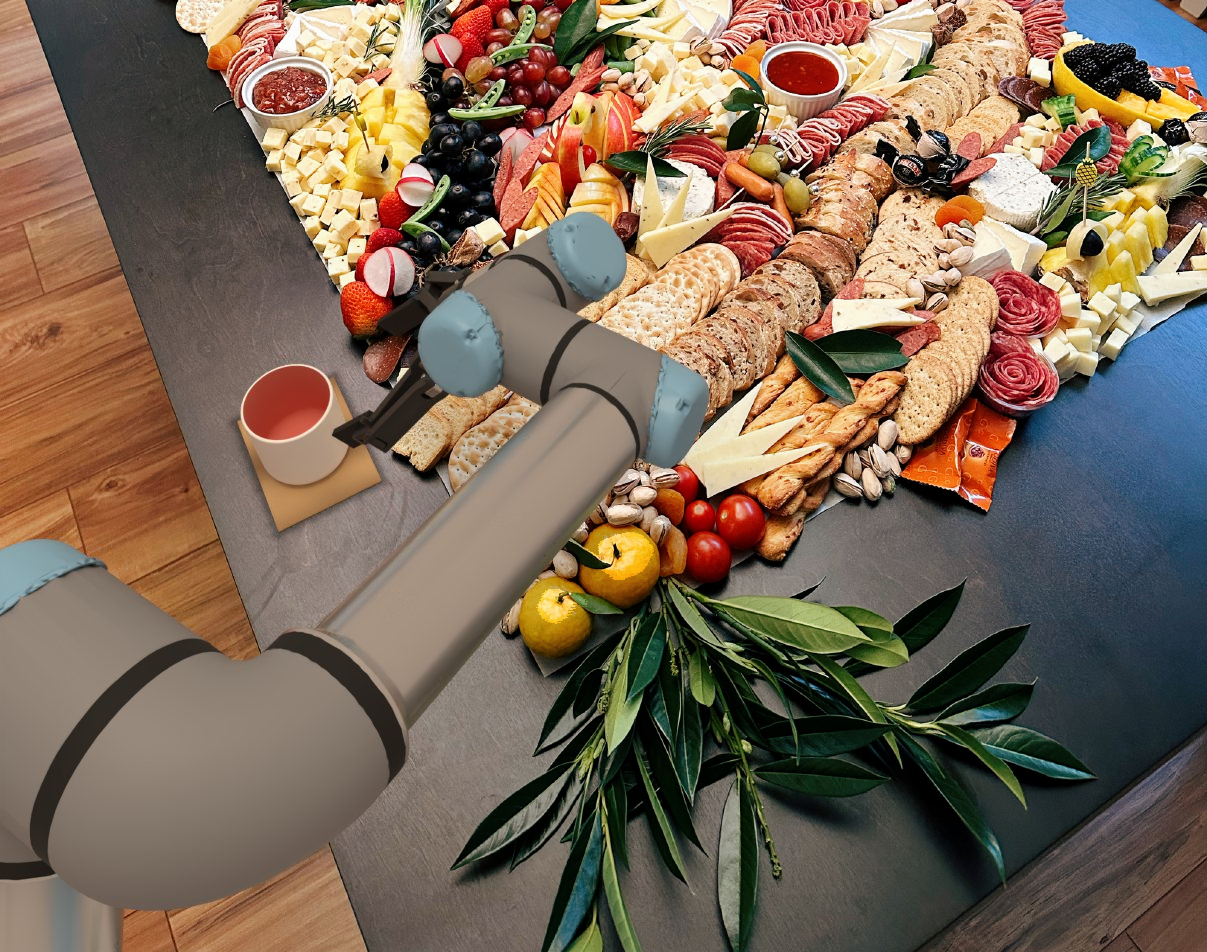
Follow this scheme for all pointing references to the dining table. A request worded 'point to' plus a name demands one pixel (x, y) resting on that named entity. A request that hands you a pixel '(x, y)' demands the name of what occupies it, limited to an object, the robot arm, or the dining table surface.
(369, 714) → the robot arm
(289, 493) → the cork mat
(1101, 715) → the dining table surface
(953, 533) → the dining table surface
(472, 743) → the dining table surface
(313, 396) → the cup
